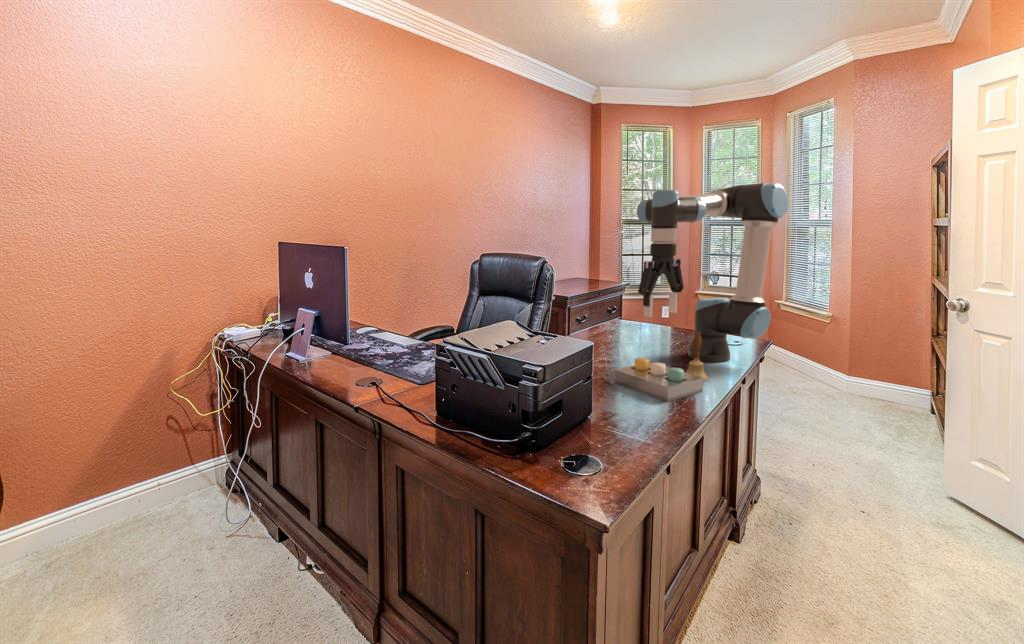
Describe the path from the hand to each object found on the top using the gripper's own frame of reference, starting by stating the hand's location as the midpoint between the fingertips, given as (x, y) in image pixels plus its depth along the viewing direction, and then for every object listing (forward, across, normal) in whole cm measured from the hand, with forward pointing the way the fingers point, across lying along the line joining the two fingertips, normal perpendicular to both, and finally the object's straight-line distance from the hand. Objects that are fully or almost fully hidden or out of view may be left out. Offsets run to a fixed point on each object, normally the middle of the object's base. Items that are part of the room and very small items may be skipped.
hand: (660, 314), depth 158 cm
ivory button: (+21, 0, 0) cm, 21 cm away
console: (+24, 0, 0) cm, 24 cm away
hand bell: (+24, -18, 0) cm, 30 cm away
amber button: (+21, 0, -7) cm, 22 cm away
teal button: (+21, 0, +7) cm, 22 cm away
